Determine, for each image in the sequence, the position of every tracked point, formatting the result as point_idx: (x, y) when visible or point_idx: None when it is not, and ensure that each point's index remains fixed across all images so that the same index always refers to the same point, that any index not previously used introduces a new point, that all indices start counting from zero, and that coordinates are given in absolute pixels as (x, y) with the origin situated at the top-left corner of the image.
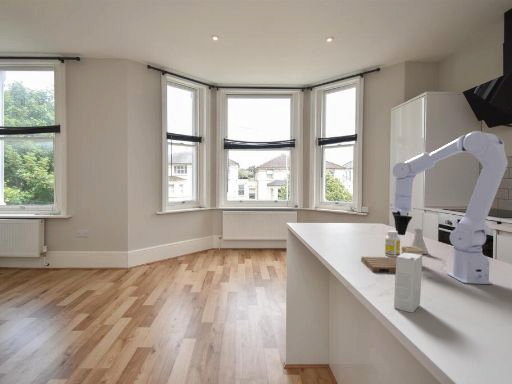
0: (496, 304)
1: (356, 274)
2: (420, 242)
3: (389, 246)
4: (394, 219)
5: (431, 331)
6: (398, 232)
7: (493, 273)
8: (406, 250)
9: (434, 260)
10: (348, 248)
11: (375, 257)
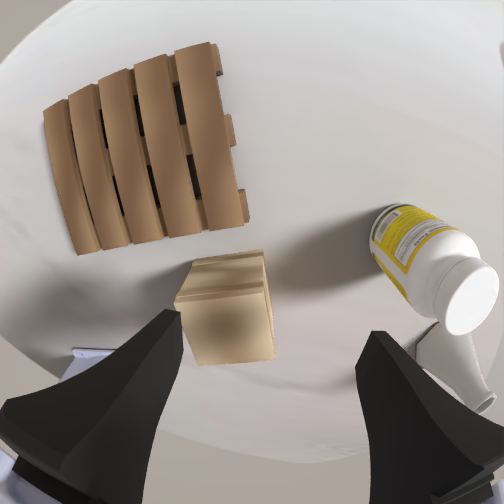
0: (6, 333)
1: (30, 69)
2: (444, 376)
3: (400, 234)
4: (442, 403)
5: None
6: (154, 322)
7: (209, 434)
8: (189, 294)
9: (329, 372)
10: (483, 64)
11: (211, 112)
